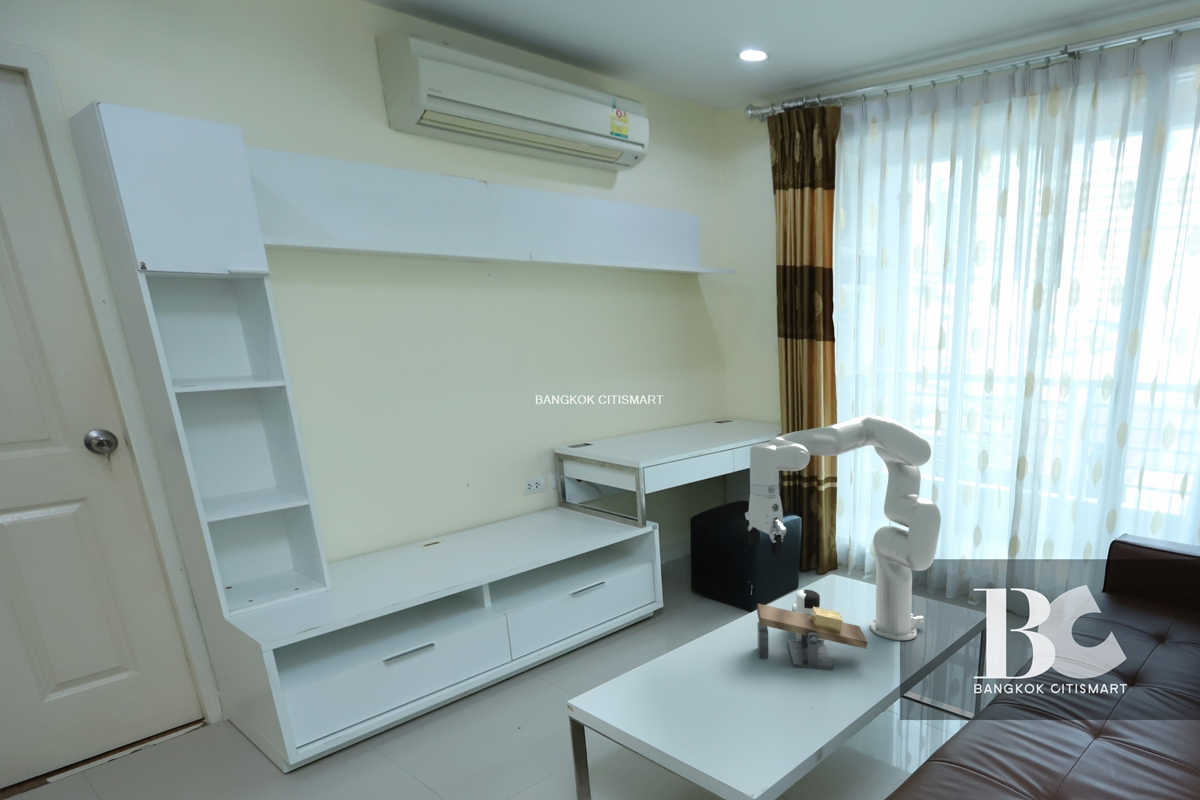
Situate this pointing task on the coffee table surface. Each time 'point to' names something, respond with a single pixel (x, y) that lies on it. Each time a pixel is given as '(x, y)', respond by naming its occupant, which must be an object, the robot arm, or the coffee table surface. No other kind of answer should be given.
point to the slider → (826, 619)
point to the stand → (799, 650)
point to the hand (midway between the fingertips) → (764, 550)
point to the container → (806, 604)
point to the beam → (809, 626)
